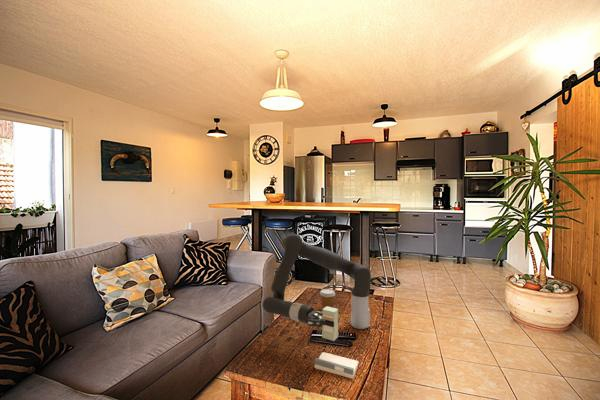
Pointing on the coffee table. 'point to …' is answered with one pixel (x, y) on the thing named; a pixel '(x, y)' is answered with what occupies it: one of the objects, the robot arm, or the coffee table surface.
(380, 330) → the coffee table surface
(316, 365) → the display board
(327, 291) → the disposable coffee cup
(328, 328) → the tea box
